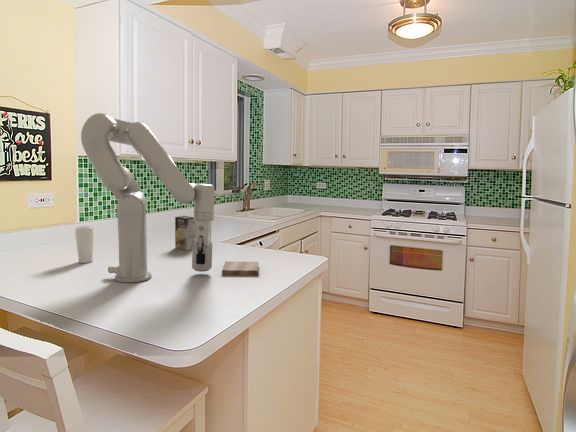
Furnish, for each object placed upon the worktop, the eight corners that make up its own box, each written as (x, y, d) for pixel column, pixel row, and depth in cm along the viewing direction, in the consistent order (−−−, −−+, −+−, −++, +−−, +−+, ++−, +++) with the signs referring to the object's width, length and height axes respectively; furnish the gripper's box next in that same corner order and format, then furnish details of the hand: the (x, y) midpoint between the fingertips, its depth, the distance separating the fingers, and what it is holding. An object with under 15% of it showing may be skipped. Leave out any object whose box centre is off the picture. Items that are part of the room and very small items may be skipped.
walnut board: (222, 275, 150) (222, 270, 150) (225, 265, 164) (225, 261, 164) (258, 275, 151) (258, 270, 151) (258, 266, 165) (258, 261, 165)
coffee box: (174, 248, 195) (174, 216, 193) (184, 246, 201) (184, 215, 199) (187, 250, 191) (187, 218, 189) (196, 248, 196) (196, 217, 194)
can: (203, 266, 155) (204, 236, 154) (215, 270, 150) (216, 239, 149) (187, 269, 149) (188, 238, 148) (200, 273, 145) (201, 241, 143)
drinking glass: (97, 262, 164) (96, 227, 162) (80, 264, 159) (78, 228, 157) (91, 259, 168) (89, 225, 166) (74, 261, 163) (72, 226, 161)
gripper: (210, 219, 139) (208, 267, 141) (216, 214, 156) (214, 256, 158) (189, 218, 139) (188, 266, 141) (197, 213, 156) (196, 256, 158)
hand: (202, 261), depth 149 cm, fingers closed on can, 7 cm apart
